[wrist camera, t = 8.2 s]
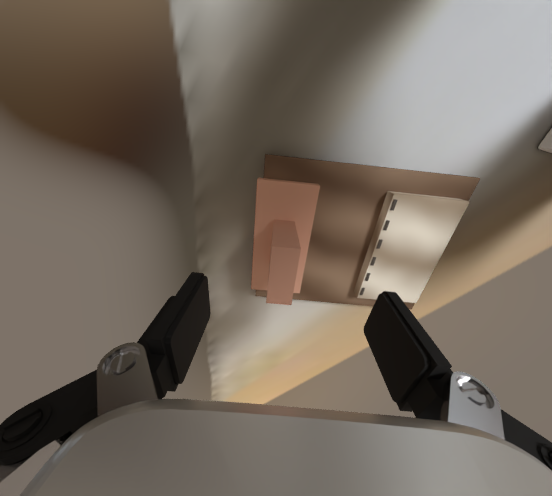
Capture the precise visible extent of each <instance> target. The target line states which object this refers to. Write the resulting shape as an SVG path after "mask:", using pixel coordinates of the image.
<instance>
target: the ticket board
mask: <svg viewBox="0 0 552 496" xmlns="http://www.w3.org/2000/svg"><path fill="white" fill-rule="evenodd" d="M264 178H268V179H277V180H286V181H296V182H305V183H314V184H319V185H320V190H319V195H318V200H317V205H316V211H315V216H314V221H313V226H312V231H311V237H310V242H309V247H308V252H307V258H306V263H305V268H304V273H303V279H302V284H301V289H300V293H293V298H292V299H298V300H309V301H321V302H332V303H344V304H355V305H367V306H374V304H375V302H376V300H377V297H378V295H379V294H381V293H382V292H383V291H389V292H396V293H397V294H398V295H399V297H400V298H401V299H402V301H403V302H404V303H405V305H406V306H407V307H408V309H412V308H413V306H414V304H415V303H417V301H418V299H419V297H420V295H421V293H422V291H423V289H424V287H425V286H426V284H427V282H428V280H429V278H430V276H431V274H432V272H433V270H434V269H435V267H436V265H437V263H438V261H439V259H440V257H441V255H442V253H443V252H444V250H445V248H446V246H447V244H448V242H449V240H450V238H451V236H452V235H453V233H454V231H455V229H456V227H457V225H458V223H459V221H460V219H461V218H462V216H463V214H464V212H465V210H466V208H467V206H468V204H469V202H470V201H469V199H470V197H471V195H472V193H473V191H474V190H475V188H476V186H477V184H478V182H479V180H480V178H475V177H467V176H458V175H449V174H440V173H431V172H422V171H413V170H404V169H395V168H386V167H376V166H367V165H358V164H349V163H340V162H331V161H322V160H313V159H304V158H295V157H286V156H277V155H268V154H265V166H264ZM256 296H263V297H267V290H256Z"/></svg>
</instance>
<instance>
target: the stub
mask: <svg viewBox="0 0 552 496" xmlns="http://www.w3.org/2000/svg"><path fill="white" fill-rule="evenodd" d="M319 190H320V185H319V184H314V183H305V182H296V181H286V180H277V179H268V178H258V179H257V191H256V209H255V227H254V245H253V263H252V281H251V289H255V290H267V299H266V303H274V304H285V305H291V303H292V298H293V293H300V289H301V284H302V279H303V273H304V268H305V263H306V258H307V252H308V247H309V242H310V237H311V231H312V226H313V221H314V216H315V211H316V205H317V200H318V195H319Z"/></svg>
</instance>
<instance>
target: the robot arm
mask: <svg viewBox="0 0 552 496" xmlns="http://www.w3.org/2000/svg"><path fill="white" fill-rule="evenodd" d="M209 318H210V303H209V291H208V279H207V276H204V274H203V273H194V272H192V273H191V274H190V276H189V277H188V278H187V280H186V282H185V283H184V284H183V286H182V287H181V289H180V290H179V291H178V293H177V294H176V296H171V297H170V298H169V299H168V300H167V302H166V303H165V305H164V306H163V307H162V309H161V310H160V312H159V313H158V314H157V316H156V317H155V319H154V320H153V321H152V323H151V324H150V325H149V327H148V328H147V330H146V331H145V332H144V334H143V335H142V337H141V338H140V339H139V341H138V342H137V343H134V342H133V343H126V344H123V345H120V346H118V347H116V348H114V349H113V350H111V351H110V352H109V353H107V354H106V355H105V356H104V357H103V358H102V360H101V361H100V363H99V365H98V367H97V370H95V371H93V372H91V373H89V374H88V375H85V376H83V377H81V378H79V379H78V380H75V381H74V382H71V383H70V384H67V385H66V386H64V387H62V388H60V389H58V390H56V391H54V392H52V393H50V394H48V395H46V396H44V397H42V398H40V399H38V400H36V401H34V402H32V403H30V404H28V405H26V406H25V407H23V408H21V409H19V410H18V411H16V412H15V413H13V414H12V415H11V416H10V417H8V418H7V419H6V420H5V421H4V422H3V423H2V424H1V425H0V496H552V443H551V442H550V441H548V440H547V439H545V438H544V437H542V436H541V435H539V434H538V433H536V432H535V431H533V430H531V429H530V428H529V427H527V426H526V425H524V424H523V423H521V422H519V421H518V420H516V419H515V418H513V417H512V416H510V415H509V414H507V413H506V412H504V411H503V410H501V409H500V405H499V402H498V400H497V398H496V396H495V395H494V394H493V393H492V391H491V390H490V389H489V388H488V387H487V386H486V385H484V384H483V383H482V382H481V381H479V380H478V379H476V378H475V377H473V376H471V375H469V374H467V373H463V372H455V373H453V372H452V371H451V369H450V368H451V367H452V366H451V364H450V363H449V362H448V360H447V359H446V358H445V356H444V355H443V354H442V353H441V351H440V350H439V348H438V347H437V346H436V345H435V343H434V342H433V340H432V339H431V338H430V337H429V335H428V334H427V332H425V330H424V329H423V327H422V326H421V325H420V323H419V322H418V321H417V319H416V318H415V317H414V315H413V314H412V313H411V311H410V310H409V309H408V307H407V306H406V305H405V303H404V302H403V301H402V299H401V298H400V297H399V295H398V294H397V293H396V292H389V291H383V292H382V293H381V294H379V295H378V297H377V300H376V302H375V304H374V306H373V308H372V311H371V313H370V315H369V317H368V319H367V322H366V324H365V326H364V334H365V336H366V339H367V341H368V343H369V346H370V348H371V350H372V353H373V355H374V357H375V360H376V362H377V364H378V367H379V369H380V371H381V374H382V376H383V378H384V381H385V383H386V385H387V388H388V390H389V392H390V395H391V397H392V399H393V400H394V401H395V402H396V403H397V405H398V407H399V409H400V411H410V412H412V411H413V412H414V414H415V416H416V418H411V417H401V416H390V415H379V414H367V413H357V412H346V411H345V412H344V411H334V410H322V409H311V408H298V407H286V406H273V405H262V404H249V403H236V402H224V401H207V400H191V399H190V400H189V399H162V398H163V397H165V395H166V393H167V391H175V390H176V388H177V386H178V384H181V383H182V382H183V381H184V378H185V376H186V373H187V371H188V369H189V366H190V364H191V362H192V359H193V357H194V354H195V352H196V349H197V347H198V344H199V342H200V340H201V337H202V335H203V333H204V330H205V328H206V325H207V323H208V321H209Z"/></svg>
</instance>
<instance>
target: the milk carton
mask: <svg viewBox="0 0 552 496" xmlns="http://www.w3.org/2000/svg"><path fill="white" fill-rule="evenodd" d="M538 149H540V150H543V151H547V152H550V153H552V128H551V130H550V131H549V132H548V134H547V135H546V137H545V138H544V139H543V141H542V142H541V143H540V145H539V147H538Z"/></svg>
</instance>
